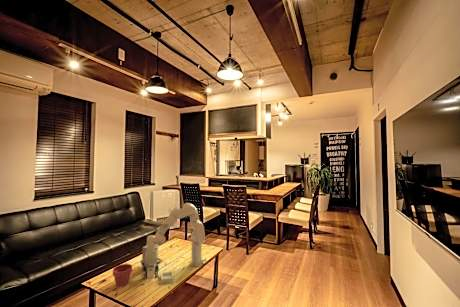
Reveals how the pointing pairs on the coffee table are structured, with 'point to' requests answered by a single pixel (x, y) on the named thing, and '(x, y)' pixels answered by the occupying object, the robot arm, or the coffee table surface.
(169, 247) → the coffee table surface
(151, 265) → the capped cream block
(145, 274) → the bay
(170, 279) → the tray
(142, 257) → the hard drive box
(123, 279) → the plant pot
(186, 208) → the robot arm
